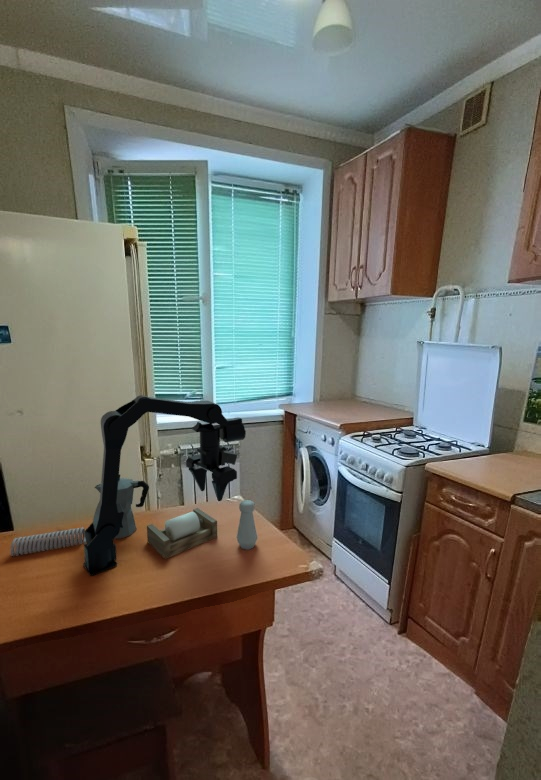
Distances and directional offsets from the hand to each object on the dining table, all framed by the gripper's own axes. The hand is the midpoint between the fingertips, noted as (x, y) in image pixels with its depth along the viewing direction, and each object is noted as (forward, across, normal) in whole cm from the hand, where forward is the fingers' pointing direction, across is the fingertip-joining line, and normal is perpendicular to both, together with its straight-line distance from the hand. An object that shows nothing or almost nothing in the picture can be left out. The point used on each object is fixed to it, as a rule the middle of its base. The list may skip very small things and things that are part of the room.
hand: (211, 495), depth 108 cm
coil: (+12, +24, +38) cm, 46 cm away
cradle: (+12, +3, +8) cm, 15 cm away
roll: (+11, +3, +8) cm, 14 cm away
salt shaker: (+12, -12, -4) cm, 18 cm away
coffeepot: (+12, +19, +19) cm, 30 cm away
